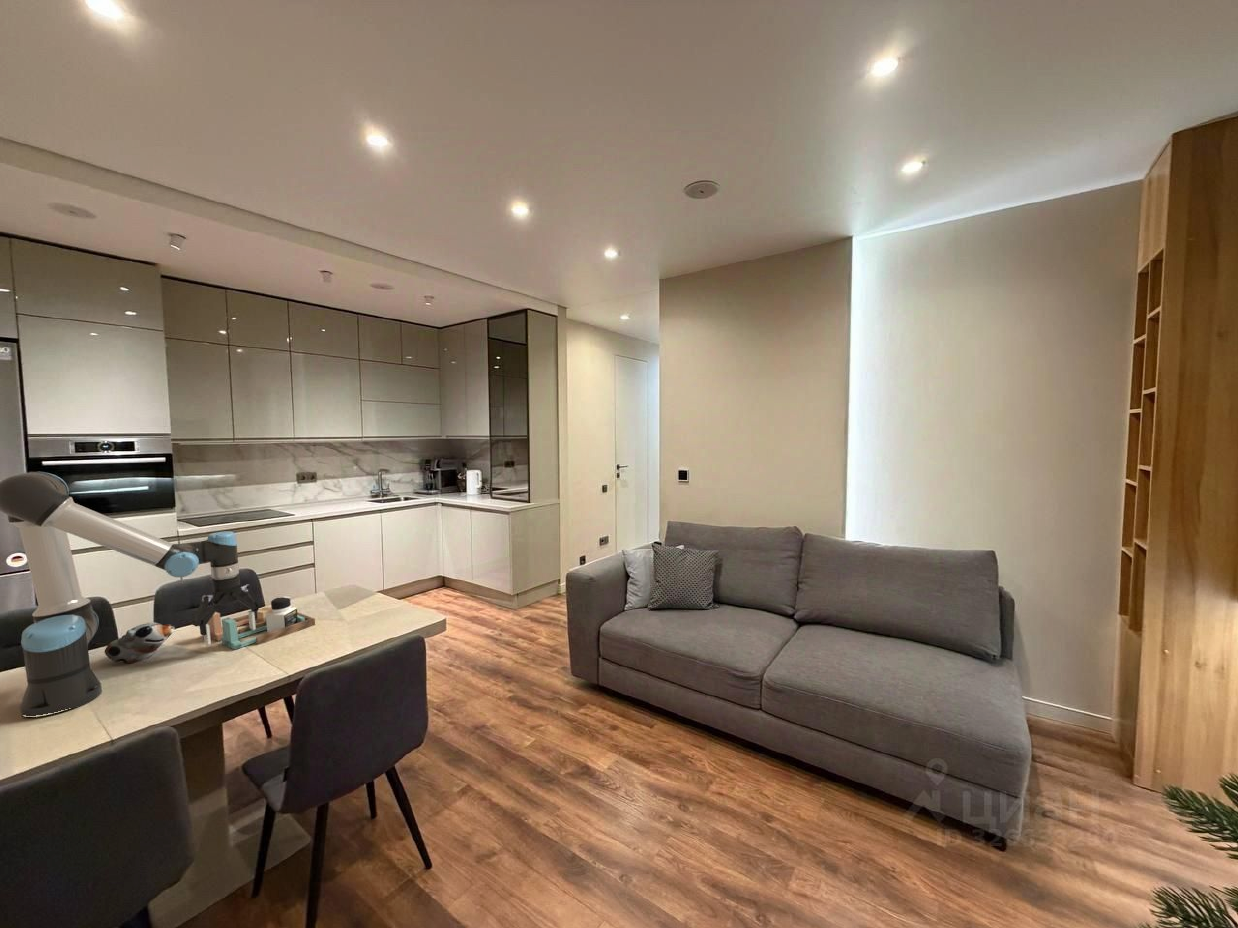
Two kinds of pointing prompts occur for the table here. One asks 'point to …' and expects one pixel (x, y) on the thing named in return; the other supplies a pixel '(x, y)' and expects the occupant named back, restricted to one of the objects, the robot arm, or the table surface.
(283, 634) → the lane rails
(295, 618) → the medicine bottle
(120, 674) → the table surface
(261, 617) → the oak cube
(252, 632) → the frame
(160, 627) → the lucky cat figurine
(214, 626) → the sled
